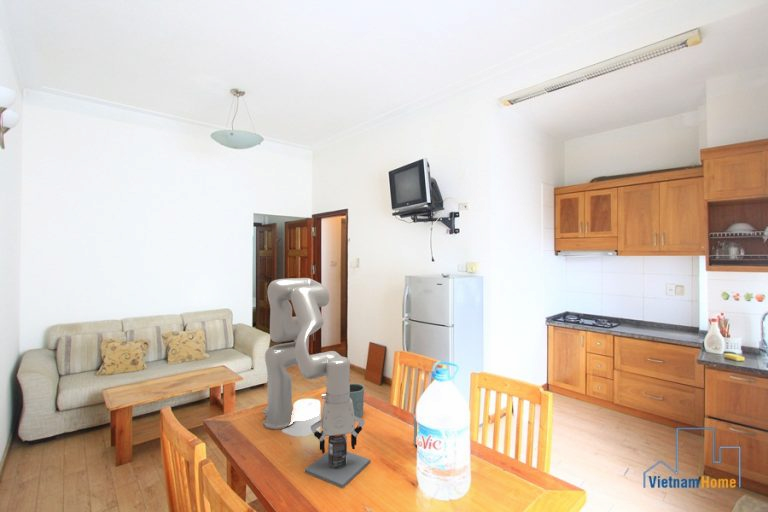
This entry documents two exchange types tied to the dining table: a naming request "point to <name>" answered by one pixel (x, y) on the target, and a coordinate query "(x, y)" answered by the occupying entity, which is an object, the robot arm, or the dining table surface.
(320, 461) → the slate mat
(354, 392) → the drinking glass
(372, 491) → the dining table surface
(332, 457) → the pill bottle
